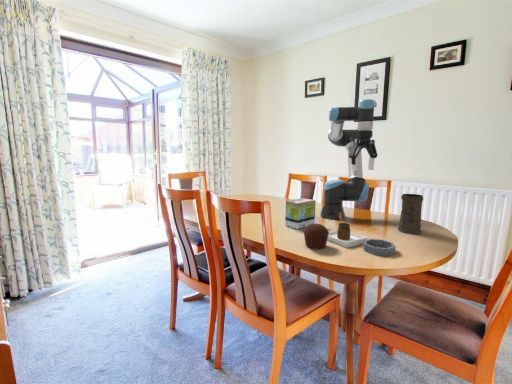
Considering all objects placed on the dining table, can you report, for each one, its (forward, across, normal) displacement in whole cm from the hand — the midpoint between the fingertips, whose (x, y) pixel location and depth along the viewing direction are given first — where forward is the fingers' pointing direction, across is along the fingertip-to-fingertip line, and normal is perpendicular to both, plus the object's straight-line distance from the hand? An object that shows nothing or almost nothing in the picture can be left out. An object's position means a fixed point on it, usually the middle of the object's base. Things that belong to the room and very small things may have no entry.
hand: (362, 170), depth 150 cm
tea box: (+32, -26, +20) cm, 46 cm away
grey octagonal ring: (+32, -22, -28) cm, 48 cm away
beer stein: (+32, +18, -17) cm, 40 cm away
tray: (+32, -25, -11) cm, 42 cm away
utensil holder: (+31, -25, -11) cm, 41 cm away
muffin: (+32, -42, -10) cm, 53 cm away
